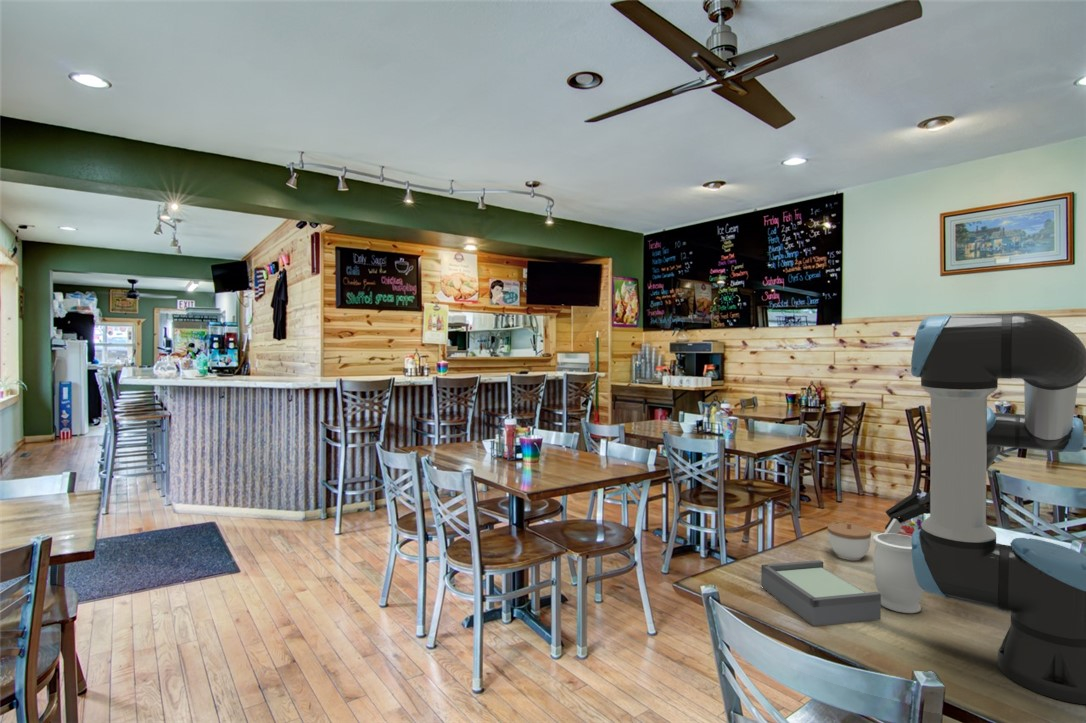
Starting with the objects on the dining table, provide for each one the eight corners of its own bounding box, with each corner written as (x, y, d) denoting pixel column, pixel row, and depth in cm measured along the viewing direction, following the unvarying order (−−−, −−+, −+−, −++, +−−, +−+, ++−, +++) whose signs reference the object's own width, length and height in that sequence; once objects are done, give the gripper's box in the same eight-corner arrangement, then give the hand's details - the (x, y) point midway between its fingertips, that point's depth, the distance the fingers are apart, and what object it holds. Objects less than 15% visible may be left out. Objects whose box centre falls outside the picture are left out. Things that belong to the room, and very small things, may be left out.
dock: (880, 619, 123) (880, 594, 123) (813, 626, 120) (813, 600, 120) (820, 581, 143) (820, 560, 143) (761, 587, 140) (761, 564, 140)
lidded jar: (821, 556, 160) (821, 523, 160) (836, 547, 168) (836, 515, 167) (862, 566, 152) (863, 532, 152) (876, 556, 160) (876, 523, 159)
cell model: (907, 544, 170) (907, 506, 169) (988, 565, 153) (988, 523, 153) (878, 556, 160) (878, 515, 160) (960, 580, 144) (961, 535, 143)
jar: (935, 618, 123) (936, 549, 123) (882, 614, 126) (883, 546, 125) (914, 597, 134) (914, 533, 133) (865, 593, 136) (866, 531, 136)
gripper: (1022, 505, 125) (975, 583, 121) (914, 480, 149) (871, 545, 144) (1006, 483, 124) (957, 561, 119) (900, 462, 147) (855, 526, 142)
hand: (910, 552), depth 132 cm, fingers open, 13 cm apart
